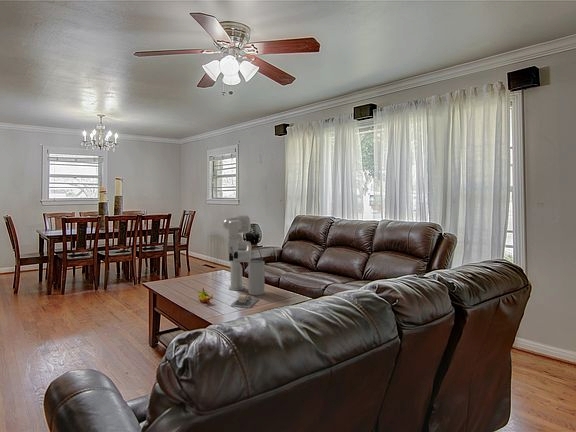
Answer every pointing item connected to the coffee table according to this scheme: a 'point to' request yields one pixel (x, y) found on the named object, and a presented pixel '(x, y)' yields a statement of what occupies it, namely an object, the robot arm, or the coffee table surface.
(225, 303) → the coffee table surface
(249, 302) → the carrier plate
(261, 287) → the cylinder vase
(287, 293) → the coffee table surface
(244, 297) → the block
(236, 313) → the coffee table surface
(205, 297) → the yellow toy car
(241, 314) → the coffee table surface
